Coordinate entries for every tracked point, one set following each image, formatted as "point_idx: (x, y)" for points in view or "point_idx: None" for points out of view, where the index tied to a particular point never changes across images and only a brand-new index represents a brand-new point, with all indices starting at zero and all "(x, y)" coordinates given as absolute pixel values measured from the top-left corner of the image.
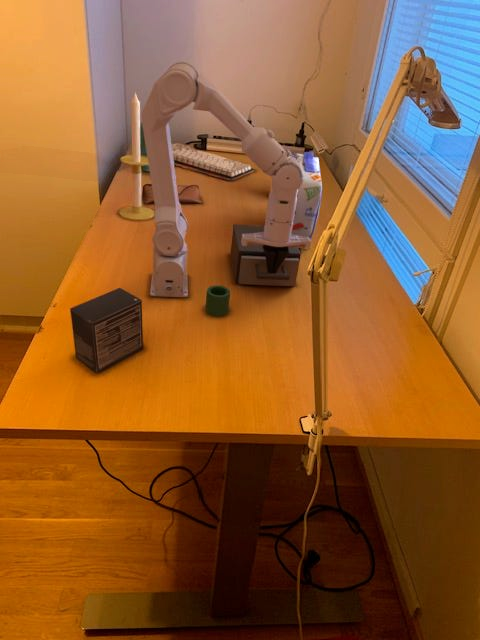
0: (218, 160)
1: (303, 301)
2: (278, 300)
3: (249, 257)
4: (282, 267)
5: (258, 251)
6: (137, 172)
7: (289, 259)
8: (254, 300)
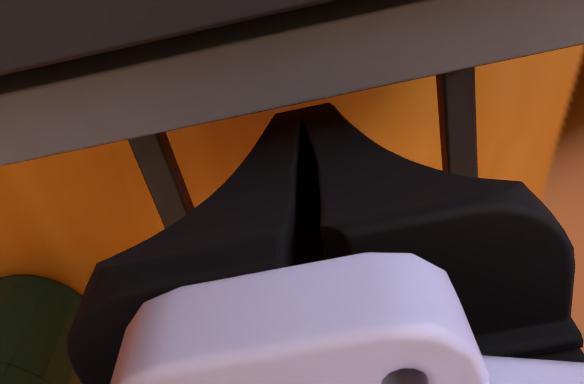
0: None
1: (559, 98)
2: (377, 133)
3: (3, 145)
4: (441, 86)
5: (72, 51)
6: None
7: (567, 28)
8: (215, 176)
